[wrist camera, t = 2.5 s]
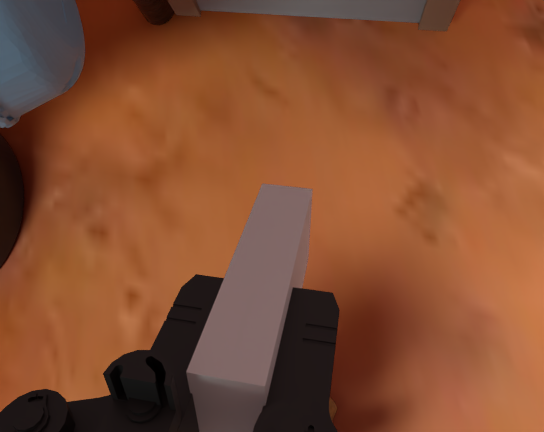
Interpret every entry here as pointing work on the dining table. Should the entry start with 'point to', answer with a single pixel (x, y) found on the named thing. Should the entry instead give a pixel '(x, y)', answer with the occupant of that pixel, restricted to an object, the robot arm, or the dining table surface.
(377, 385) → the dining table surface
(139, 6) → the gate posts
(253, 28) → the dining table surface
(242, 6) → the gate leaf
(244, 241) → the robot arm
